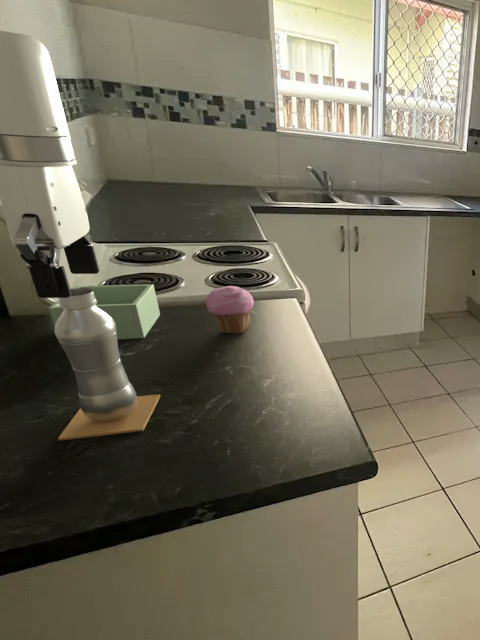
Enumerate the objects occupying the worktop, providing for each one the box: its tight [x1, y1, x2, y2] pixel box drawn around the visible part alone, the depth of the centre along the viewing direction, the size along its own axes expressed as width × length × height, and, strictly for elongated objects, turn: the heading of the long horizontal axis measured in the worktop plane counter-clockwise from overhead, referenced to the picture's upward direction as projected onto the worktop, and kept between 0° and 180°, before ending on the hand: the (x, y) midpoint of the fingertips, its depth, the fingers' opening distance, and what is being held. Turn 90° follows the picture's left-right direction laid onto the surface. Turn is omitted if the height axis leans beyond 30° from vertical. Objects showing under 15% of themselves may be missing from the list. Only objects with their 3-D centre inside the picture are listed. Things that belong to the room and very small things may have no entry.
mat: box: [57, 393, 161, 442], centre depth 73 cm, size 10×10×1 cm
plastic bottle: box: [53, 287, 137, 421], centre depth 69 cm, size 6×7×20 cm
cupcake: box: [206, 285, 255, 335], centre depth 102 cm, size 9×9×10 cm
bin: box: [48, 283, 161, 340], centre depth 98 cm, size 14×13×7 cm
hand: (71, 284), depth 64 cm, fingers open, 9 cm apart
